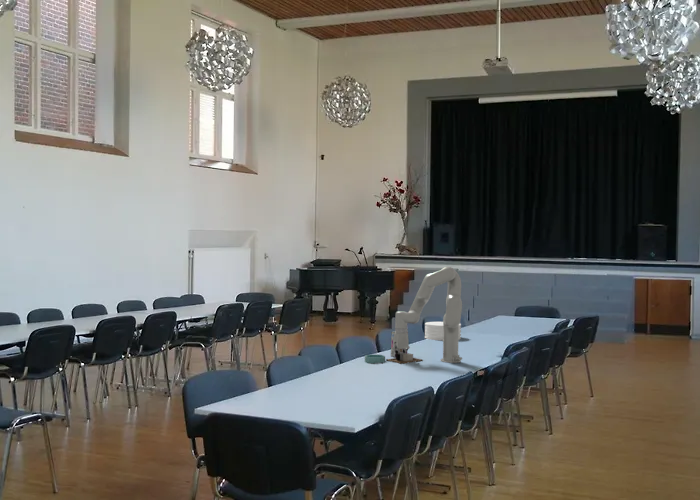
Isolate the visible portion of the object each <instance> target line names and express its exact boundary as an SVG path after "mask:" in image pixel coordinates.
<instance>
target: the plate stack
mask: <svg viewBox="0 0 700 500" xmlns="http://www.w3.org/2000/svg"><path fill="white" fill-rule="evenodd" d="M458 326H459V337H458V341H460V340H461V339H462V334H461V332H462V323H460V324H459V325H458ZM424 339H427V340H431V341H443V321H426V322H425V323H424Z"/></svg>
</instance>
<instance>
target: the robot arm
mask: <svg viewBox="0 0 700 500" xmlns="http://www.w3.org/2000/svg"><path fill="white" fill-rule="evenodd" d="M446 283H447V294H446V299H445V305H446V307H445V308H446V309H445V314H444V315H443V318H442V322H443V340H442V345H443V346H442V358H441V359H440V360H439V361H440V362H442V363H451V364H458V363H461V361H462V360H463V357H461V356H460V354H459V340H458V337H459V326H458V325H459V324H461V320H462V311H463V302H462V301H463V300H462V299H461V297H462V296H461V294H462V280H461V276H460V275H459V273H458V272H457V271H456V270H455V269H454V268H453V267H452V266H448V265H447V266H445V267H443V268H441V270H437V271H435V272H433V273H427V274H426V275H425V276H424V278H423V280H422V282H421V284H420V287H419V289H418V291H417V292H416V295H415V297H414V300H413V302H412V303H411V306H410V308H409V311H408V312H407V311H404V310H403V311H401V310H399V311H396V312H395V320H394V321H395V323H394V324H395V328H394V329H395V330H394V332H395V333H394V338H393V348H392V350H393V351H394V352H395V354H396V357H395V358H396V360H400V354H399V353H400V349H402V352H404V353H408V350H409V349H410V345H409V331H408V329H409V328H408V324H417V323H419V321H420V319H421V318H420V317H421V314H422V312H423V309H424V307H425V306H426V305H427V303H429V300H430V299H431V296H432V294H433V292H434V291H435V287H439V286H441V285H444V284H446ZM407 332H408V333H407ZM397 350H398V351H397Z"/></svg>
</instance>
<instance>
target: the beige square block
mask: <svg viewBox="0 0 700 500" xmlns="http://www.w3.org/2000/svg"><path fill="white" fill-rule="evenodd" d="M413 358H414V353H409V352H407V353H406V354H403V361H404V362H405V361H413Z"/></svg>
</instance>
